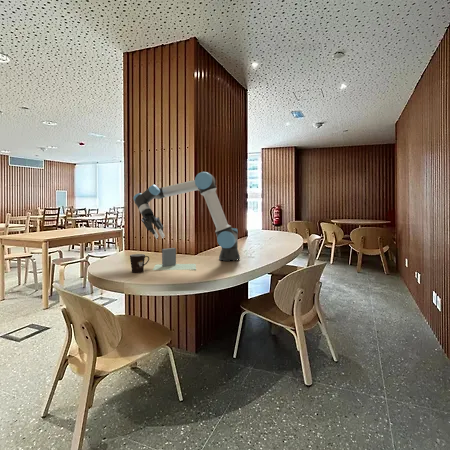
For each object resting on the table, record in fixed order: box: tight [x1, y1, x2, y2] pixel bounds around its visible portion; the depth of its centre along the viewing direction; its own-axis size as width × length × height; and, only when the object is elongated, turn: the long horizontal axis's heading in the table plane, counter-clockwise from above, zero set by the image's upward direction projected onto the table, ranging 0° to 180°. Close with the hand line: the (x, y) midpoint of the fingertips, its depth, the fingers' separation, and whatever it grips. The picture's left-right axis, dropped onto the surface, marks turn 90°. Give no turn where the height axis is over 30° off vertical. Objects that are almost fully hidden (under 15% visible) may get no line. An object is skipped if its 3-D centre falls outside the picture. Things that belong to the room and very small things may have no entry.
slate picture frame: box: [161, 247, 177, 267], centre depth 200 cm, size 3×9×11 cm, turn 137°
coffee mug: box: [129, 253, 150, 274], centre depth 184 cm, size 12×9×10 cm
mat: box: [152, 263, 197, 271], centre depth 197 cm, size 26×18×1 cm
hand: (160, 237), depth 205 cm, fingers open, 4 cm apart
